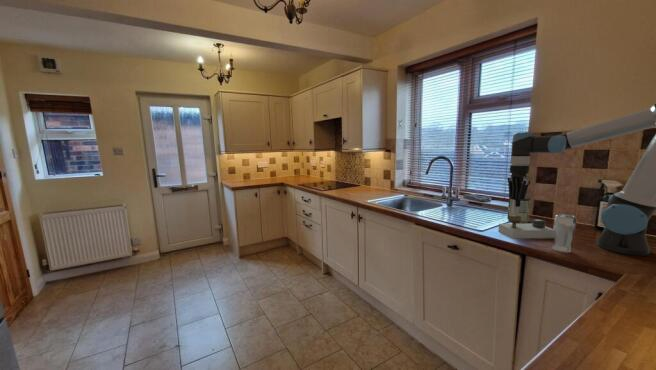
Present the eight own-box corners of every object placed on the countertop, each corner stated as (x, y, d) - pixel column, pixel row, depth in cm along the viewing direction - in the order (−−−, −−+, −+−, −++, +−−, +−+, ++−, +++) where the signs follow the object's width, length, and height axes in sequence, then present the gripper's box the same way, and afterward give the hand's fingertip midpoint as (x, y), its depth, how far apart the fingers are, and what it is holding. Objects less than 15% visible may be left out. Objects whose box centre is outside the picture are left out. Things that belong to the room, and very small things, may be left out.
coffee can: (503, 217, 162) (505, 195, 160) (521, 218, 161) (523, 195, 159) (513, 222, 152) (515, 198, 150) (532, 223, 151) (534, 198, 149)
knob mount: (554, 238, 126) (555, 230, 126) (512, 238, 127) (513, 230, 126) (537, 230, 137) (538, 223, 137) (498, 231, 138) (499, 223, 137)
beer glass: (550, 250, 112) (554, 216, 110) (551, 245, 117) (555, 212, 115) (572, 254, 108) (577, 219, 105) (572, 249, 113) (577, 215, 110)
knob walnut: (522, 229, 129) (523, 217, 128) (512, 229, 129) (513, 217, 129) (515, 226, 134) (516, 214, 133) (505, 226, 134) (506, 214, 133)
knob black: (546, 233, 129) (548, 221, 128) (536, 233, 129) (537, 221, 129) (539, 230, 134) (540, 218, 133) (529, 230, 134) (530, 218, 134)
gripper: (537, 165, 121) (532, 216, 124) (518, 163, 134) (513, 209, 137) (521, 166, 121) (516, 216, 124) (503, 164, 134) (499, 209, 137)
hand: (515, 212), depth 131 cm, fingers closed
